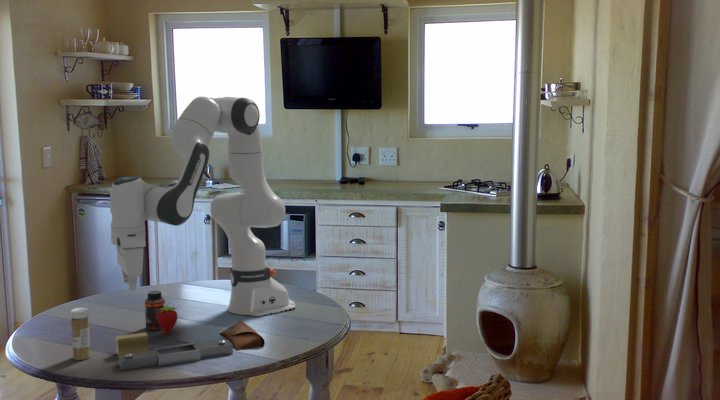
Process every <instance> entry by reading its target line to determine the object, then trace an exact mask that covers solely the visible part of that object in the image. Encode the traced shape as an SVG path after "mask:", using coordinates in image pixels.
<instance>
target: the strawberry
mask: <svg viewBox="0 0 720 400" xmlns="http://www.w3.org/2000/svg"><path fill="white" fill-rule="evenodd" d="M169 304H170V302H168V303H167V305H165V306H164V308H160V309H159V310H161V311H159V313H158V314H157V320H158V323H159V325H160V327H161V328H162V329H161V330H162V331H163V332H164V334H165V335H170V333H171V332H172V330H173V329H174V327H175V326H176V324H177V322H178V313H177V311H176V310H177V309H178V308H177V307H171V306H168V305H169Z"/></svg>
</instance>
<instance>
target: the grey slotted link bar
mask: <svg viewBox="0 0 720 400" xmlns="http://www.w3.org/2000/svg"><path fill="white" fill-rule="evenodd" d="M231 354H234V346H233V344H232V343H231V342H230V341H229V340H228V339H220V340H213V341H209V342H201V343H195V342H190V343H182V344H175V345H170V346H169V345H168V346H163V347H162V346H161V347H160V346H159V347H155V348H154V347H153V349H151V350H149V351H144V352H137V353H127V354H123V355H117V357H118V359H117V360H118V365H119V368H120V371H127V370H133V369H140V368H146V367H147V368H148V367H153V366H158V367H162V366H169V365H176V364H181V363H188V362H194V361H200V360H201V359H207V358H210V357H211V358H213V357H219V356H225V355H231Z"/></svg>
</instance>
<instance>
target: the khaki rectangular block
mask: <svg viewBox="0 0 720 400" xmlns="http://www.w3.org/2000/svg"><path fill="white" fill-rule="evenodd" d="M115 341H116V344H115V345H116V354H117V356H118V355H123V354H127V353H137V352H144V351H150V350H149V335H148V333H147V332H137V333H131V334H124V335H117V336H115Z"/></svg>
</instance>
